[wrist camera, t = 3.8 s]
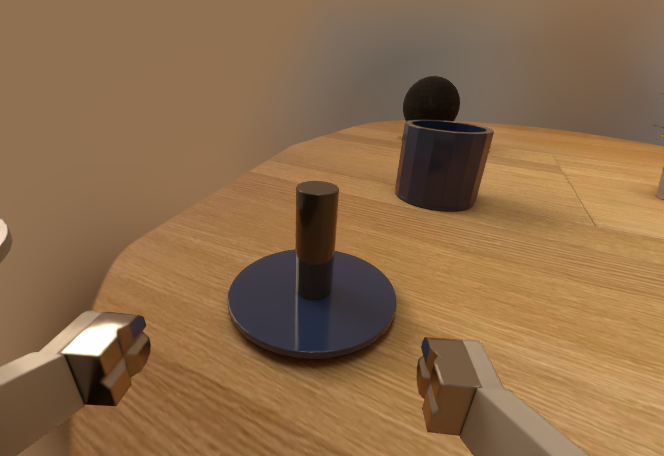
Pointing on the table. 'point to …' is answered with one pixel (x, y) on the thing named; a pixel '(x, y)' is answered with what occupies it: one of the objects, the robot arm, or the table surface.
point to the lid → (312, 289)
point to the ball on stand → (431, 100)
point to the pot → (442, 164)
